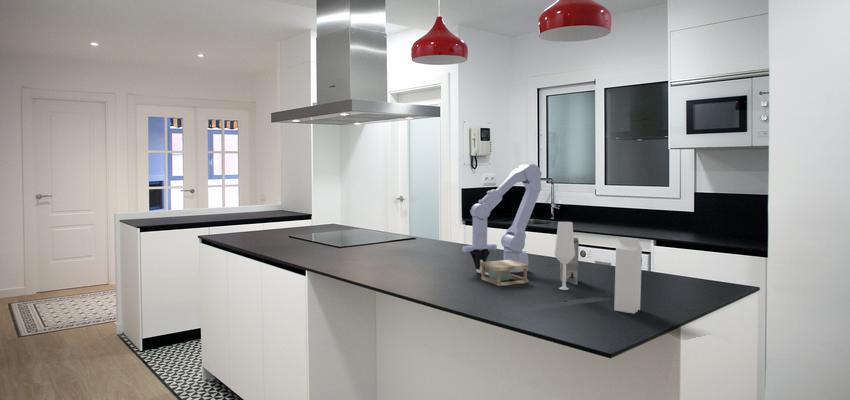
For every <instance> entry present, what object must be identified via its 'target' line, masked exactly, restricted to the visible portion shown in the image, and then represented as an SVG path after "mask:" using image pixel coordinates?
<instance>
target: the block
mask: <svg viewBox="0 0 850 400" xmlns="http://www.w3.org/2000/svg"><path fill="white" fill-rule="evenodd" d="M480 262H483V260H480ZM475 270H476V273H479V274H482V266H480V269H479V270H478V269H475ZM510 274H511V272H510V270H505V271H501V282H505V281H510V280H511V278H510ZM485 276H488V277H489V278H492V279H495V280H498V271H496V270H493V269H490V268H488V271H487V272H486V271H485Z"/></svg>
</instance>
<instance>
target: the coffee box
mask: <svg viewBox="0 0 850 400" xmlns="http://www.w3.org/2000/svg"><path fill="white" fill-rule="evenodd" d="M579 244H580V241H579V239H578V237H574V251H575V256H574V258H573V259H572V260H571V261H570V262H569V263H567V264H566V283H569V284H572V285H577V286H578V283H579V279H578V278H579V252H580V251H579V247H580V245H579ZM562 277H563V264H562V263H561V262H560V261H559V280H560V282H562Z"/></svg>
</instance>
